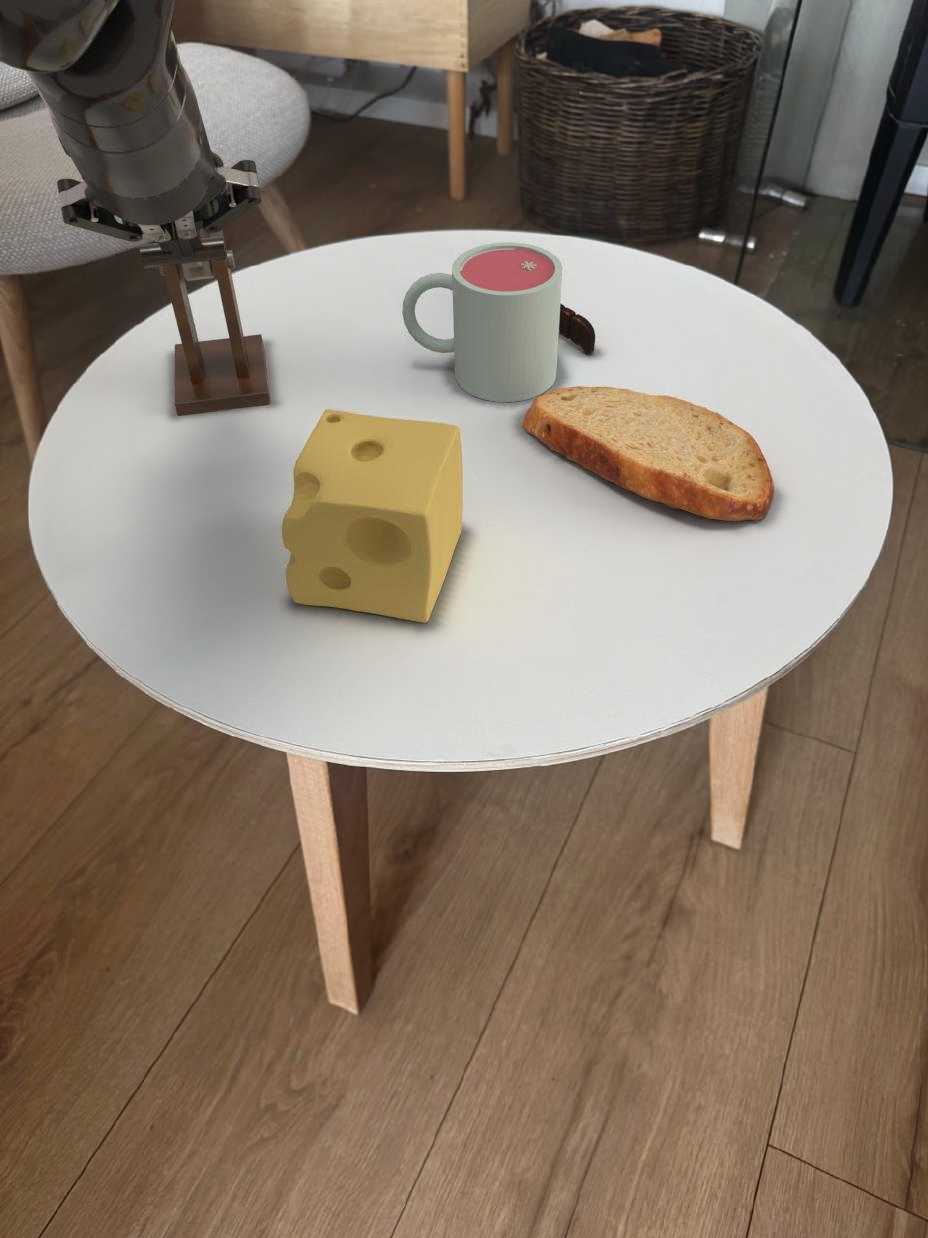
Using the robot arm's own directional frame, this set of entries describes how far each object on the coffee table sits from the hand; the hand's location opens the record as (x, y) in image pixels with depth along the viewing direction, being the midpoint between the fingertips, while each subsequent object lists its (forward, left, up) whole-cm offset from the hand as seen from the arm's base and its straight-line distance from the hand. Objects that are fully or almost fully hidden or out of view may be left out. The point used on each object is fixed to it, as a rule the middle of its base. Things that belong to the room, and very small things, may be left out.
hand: (182, 243), depth 71 cm
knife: (+30, +13, -17) cm, 37 cm away
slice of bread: (+33, -11, -17) cm, 39 cm away
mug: (+23, +5, -17) cm, 29 cm away
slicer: (0, +9, -17) cm, 19 cm away
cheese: (+11, -19, -17) cm, 27 cm away
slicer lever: (0, +4, -5) cm, 6 cm away
